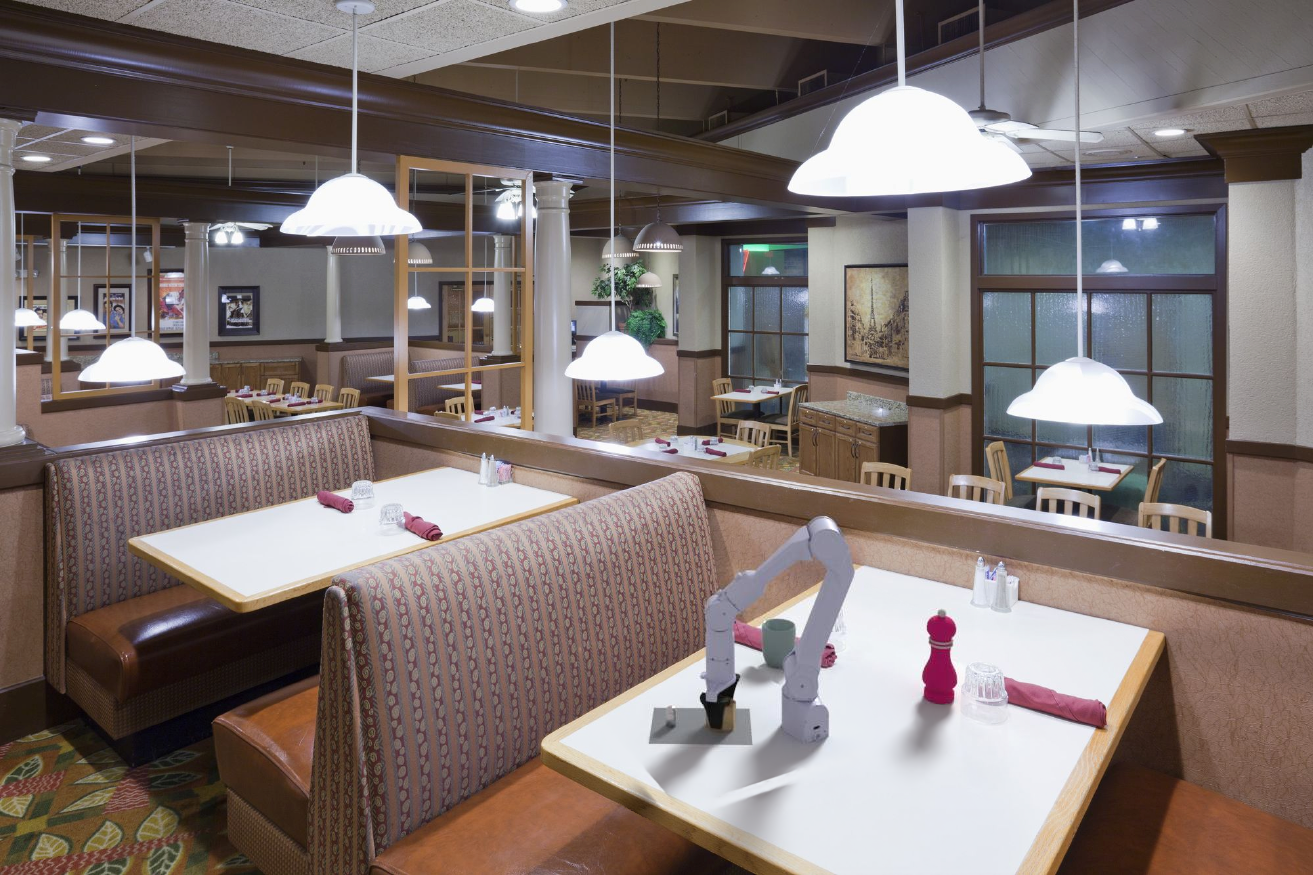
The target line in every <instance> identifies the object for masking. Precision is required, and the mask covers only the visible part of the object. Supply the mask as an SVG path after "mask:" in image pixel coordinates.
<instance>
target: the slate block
mask: <svg viewBox="0 0 1313 875" xmlns="http://www.w3.org/2000/svg"><path fill="white" fill-rule="evenodd" d="M666 708H667V707H654V708H653V714H652V720H651V725H650V726H651V727H650V734H649V740H648V744H652V745H653V744H658V745H659V744H661V745H662V744H664V745H665V744H666V745H667V744H668V745H675V744H676V745H731V746H732V745H740V746H741V745H742V746H743V745H748V746H750V745H751V746H753V734H752V721H751V709H750V708H736V726H735V728H734V730H733V731H729V732H726V733H718V732H712V731H711V730H710V729H709V728H708V727H706V710H705V708H704V707H699V708H698V707H675V708H676V711H677V726H676V727H674V728H669V727H667V726H666Z"/></svg>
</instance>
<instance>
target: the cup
mask: <svg viewBox="0 0 1313 875" xmlns="http://www.w3.org/2000/svg"><path fill="white" fill-rule="evenodd" d="M796 630H797V626H796V624H795V623H794V621H791V620H790V619H785V618H770V619H767V620H765V621H763V623H762V624H761V649H762V650H761V651H762V656H763V659H764V662H765V663H766V664H767V665H768V666H769V667H771V668H774V669H783V661H784V659H785V657H786V656H787V655H788V654H789V653H790V652H791V651H792V650H793V648H794V646H795V644H796V643H797V641H796V640H797V637H796V636H797V632H796Z"/></svg>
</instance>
